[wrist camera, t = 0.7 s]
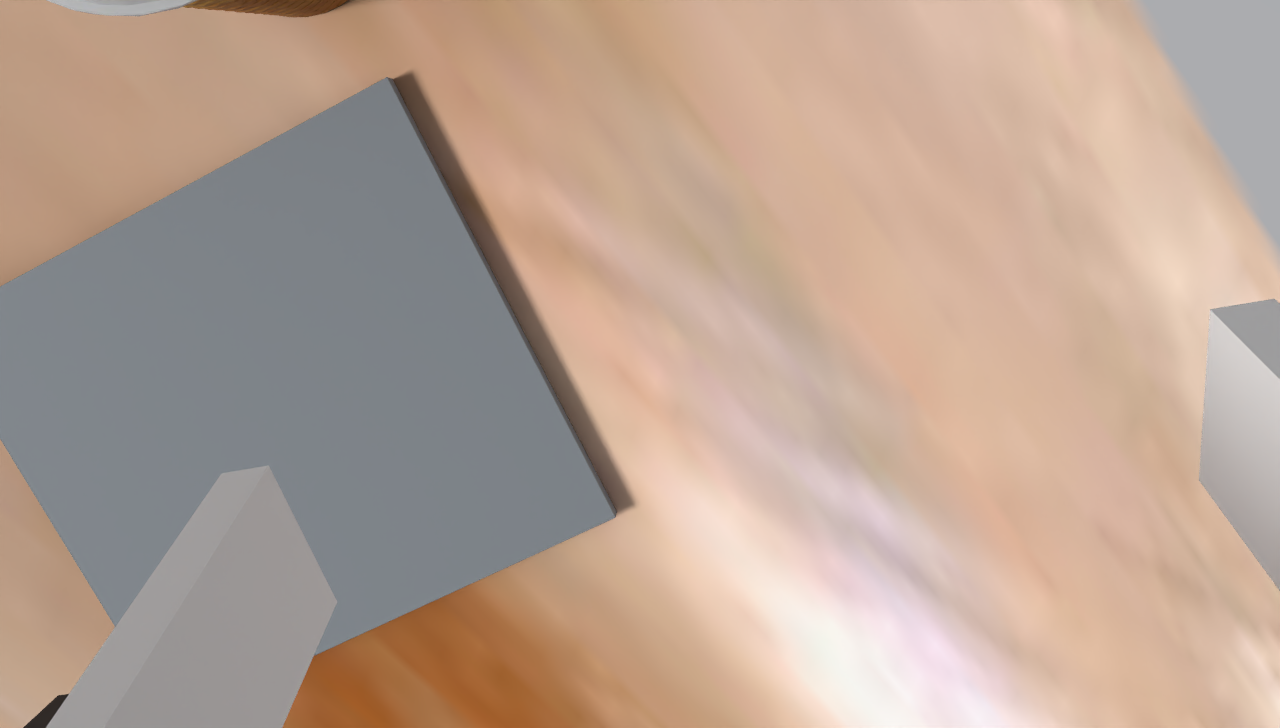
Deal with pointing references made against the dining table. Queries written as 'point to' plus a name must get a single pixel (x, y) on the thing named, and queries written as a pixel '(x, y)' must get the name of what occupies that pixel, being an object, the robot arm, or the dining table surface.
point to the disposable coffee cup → (202, 6)
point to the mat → (295, 375)
